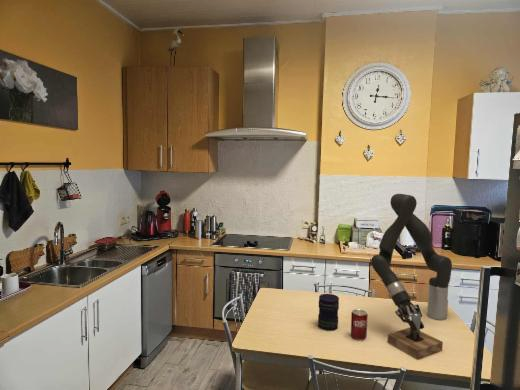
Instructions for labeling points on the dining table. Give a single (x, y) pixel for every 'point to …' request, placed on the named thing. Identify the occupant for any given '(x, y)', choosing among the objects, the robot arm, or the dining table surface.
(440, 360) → the dining table surface
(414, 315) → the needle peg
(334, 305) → the storage jar
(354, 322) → the soda can
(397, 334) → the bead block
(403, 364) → the dining table surface
